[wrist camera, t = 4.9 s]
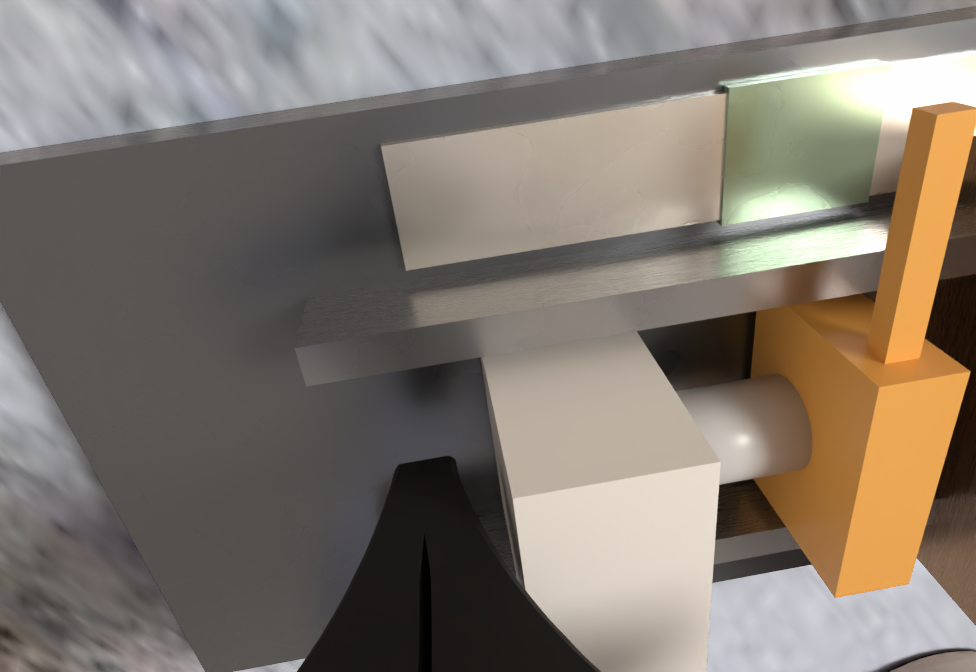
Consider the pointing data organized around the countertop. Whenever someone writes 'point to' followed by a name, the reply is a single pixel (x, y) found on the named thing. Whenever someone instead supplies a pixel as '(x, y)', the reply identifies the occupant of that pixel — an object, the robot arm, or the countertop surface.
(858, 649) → the countertop surface
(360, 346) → the base
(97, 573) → the countertop surface
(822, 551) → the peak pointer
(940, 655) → the coffee cup
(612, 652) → the cream block with peg
